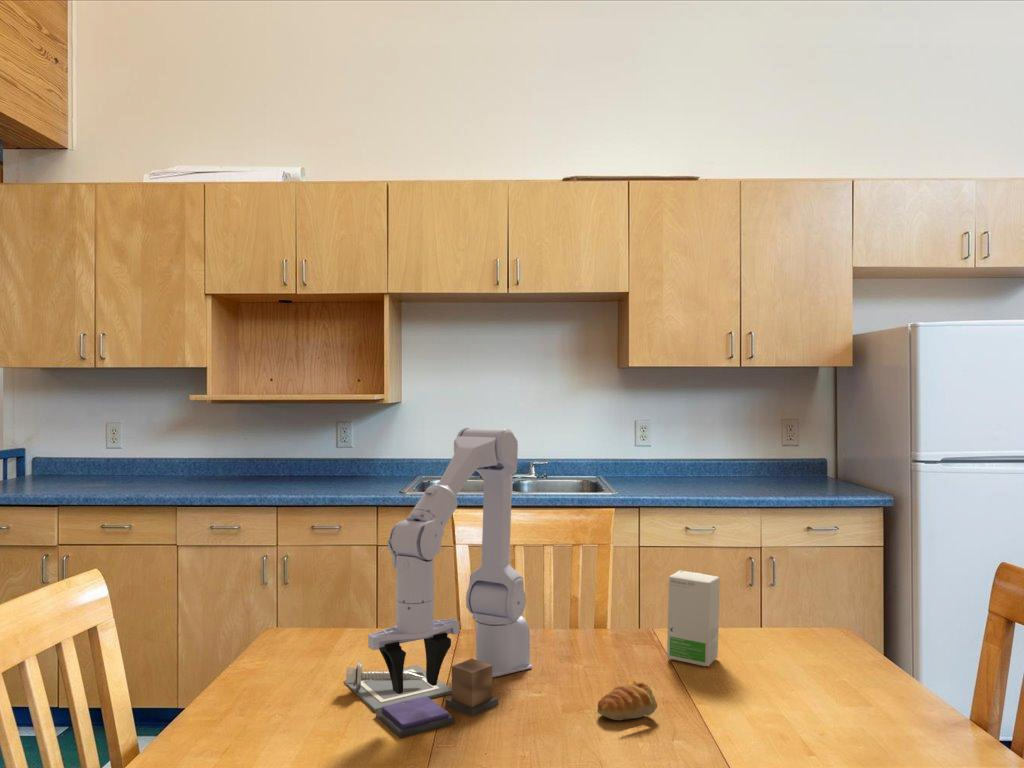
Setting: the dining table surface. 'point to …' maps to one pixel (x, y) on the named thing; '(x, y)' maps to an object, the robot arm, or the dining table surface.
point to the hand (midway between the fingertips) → (414, 687)
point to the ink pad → (414, 716)
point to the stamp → (472, 688)
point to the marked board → (385, 695)
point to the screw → (375, 676)
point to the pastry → (628, 702)
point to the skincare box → (693, 617)
